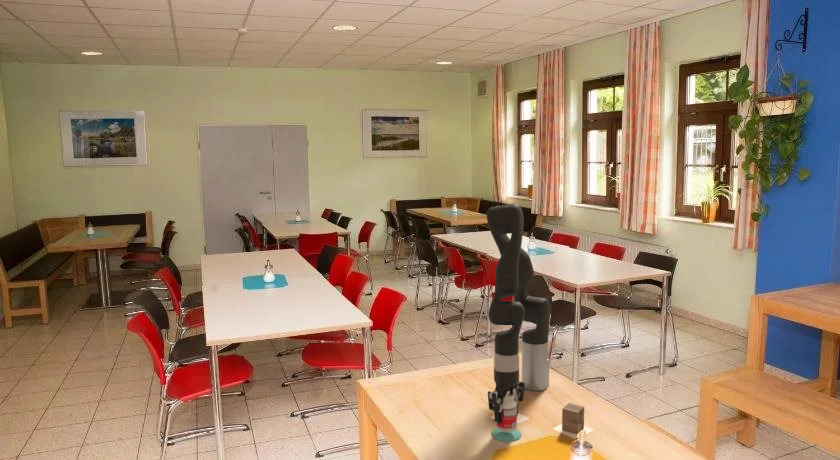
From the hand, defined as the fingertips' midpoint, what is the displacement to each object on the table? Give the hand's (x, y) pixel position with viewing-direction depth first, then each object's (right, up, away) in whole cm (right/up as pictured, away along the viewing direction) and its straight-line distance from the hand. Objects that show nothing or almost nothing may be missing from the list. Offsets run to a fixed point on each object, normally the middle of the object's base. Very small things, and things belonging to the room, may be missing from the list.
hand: (506, 419), depth 181 cm
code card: (+3, -3, +12) cm, 12 cm away
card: (+21, -4, +3) cm, 22 cm away
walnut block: (+21, -4, +3) cm, 22 cm away
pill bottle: (0, -3, 0) cm, 3 cm away
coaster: (0, -5, +1) cm, 5 cm away
